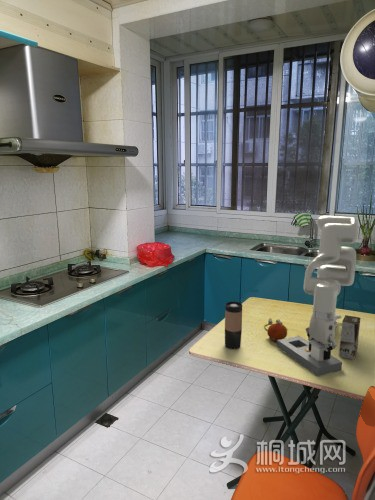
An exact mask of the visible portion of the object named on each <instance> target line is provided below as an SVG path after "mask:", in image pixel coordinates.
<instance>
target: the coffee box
mask: <svg viewBox="0 0 375 500" xmlns="http://www.w3.org/2000/svg"><path fill="white" fill-rule="evenodd" d="M360 327H361V317H359V316H353V315H347V314H345V315H344V318H343V320H342V324H341V330H340V341H339V351H338V356H339V357H342V358H346V359H350V360H353V359H354V360H355V359H356V358H355V357H356V354H357V353H356V352H358V344H359V336H360Z"/></svg>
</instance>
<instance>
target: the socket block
mask: <svg viewBox="0 0 375 500" xmlns="http://www.w3.org/2000/svg"><path fill="white" fill-rule="evenodd" d="M276 342H277V345H276V346H277V348H278V349H279V350H280V351H281V352H283V353H285V355H288V356H289V357H290V358H291V359H294V360H295V361H296V362H298V363H299V365H301V366H302V367H305V368H306V369H308V370H309V371H310V372H311V373H313V374H314V375H316V376H317V377H320V376H325V375H328V374H331V372H332V373H335V371H336V372H338V371H342V368H343V367H342V366H343V361H341V360H340V359H338V358H337V357H335V356H333V355H332V354H331V356H330V359H327V360H325V361H321V362H317V361H316V360H314V359H313V358H311V351H309V340H308V339H305V338H304V337H302V336H301V335H296V336H290V337H285V338H284V339H280V340H278V341H276Z"/></svg>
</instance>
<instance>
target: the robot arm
mask: <svg viewBox="0 0 375 500" xmlns="http://www.w3.org/2000/svg"><path fill="white" fill-rule="evenodd" d="M316 223H317V229H318V230H319V232H320V239H319V248H318V255H317V256H316V257H314V258H313V259H312V260H311V261H310V262H309V263H308V265H307V267H305V268H306V269H305V272H304V280H303V291H304V292H305V294H306V295H311V296H313V306H312V314H311V317H310V320H309V326H308V327H306V328H305V332H306V336H307V338H308V339H307V341H309V351H311V345H312V344H310V340H314V339H315V340H317V341H319V342H321V343H322V344H324V348H325V350H324V354H323V359H324V360H327V359H330V356H331V355H332V354H331V353H332V351H333V350H334V349H336V347H337V346H338V343H337V341H336V340H335V338H336V337H335V335H336V334H335V333H336V328H338V322H337V320H340V319H342V315H340V314H337V315H336V312H337V311H336V309H337V300H338V298H337V297H338V295H339V294H340V293H341V289H342V288H341V287H342V286H346V287H347V286H348V287H349V286H352V285H353V284H354V281H355V274H356V264H357V251H356V249H355V248H354V247H351V246H343V245H341V244H354V243H356V241H357V238H358V233H359V232H358V229H359V225H358V219H357V218H356V217H354V216H342V215H341V216H338V215H337V216H336V215H321V216H319V217H318V218H317V221H316ZM316 269H317V271H316V275H317V276H313V273H314V271H315V270H316ZM327 342H328V343H327ZM327 344H328V346H329V347H327Z"/></svg>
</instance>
